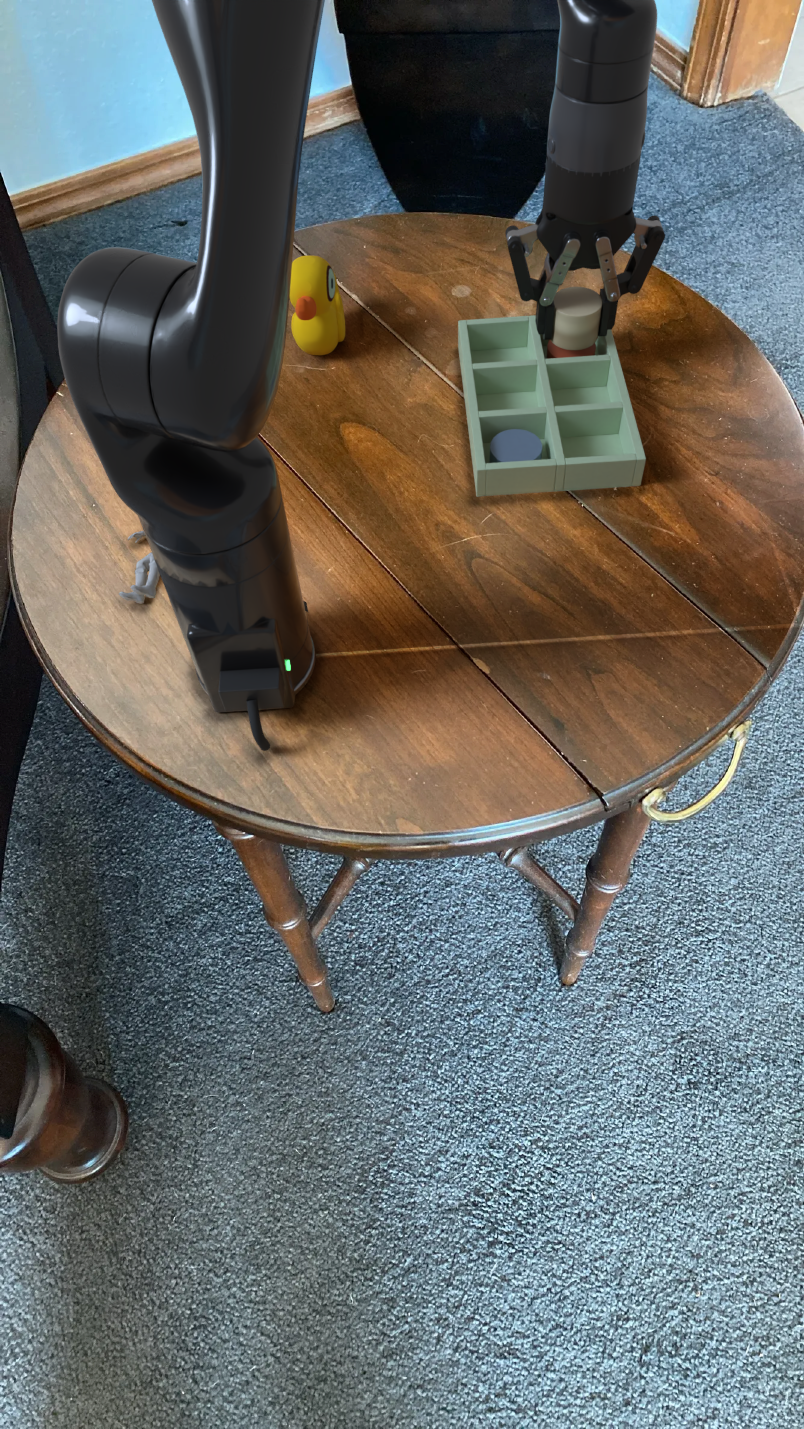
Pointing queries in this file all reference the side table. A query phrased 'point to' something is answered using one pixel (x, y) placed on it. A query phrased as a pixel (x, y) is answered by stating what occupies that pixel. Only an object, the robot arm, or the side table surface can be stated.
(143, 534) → the soldier figure
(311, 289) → the duckling
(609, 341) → the green rectangular divided tray
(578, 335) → the cream token
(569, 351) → the terracotta token
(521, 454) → the slate token
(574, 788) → the side table surface
